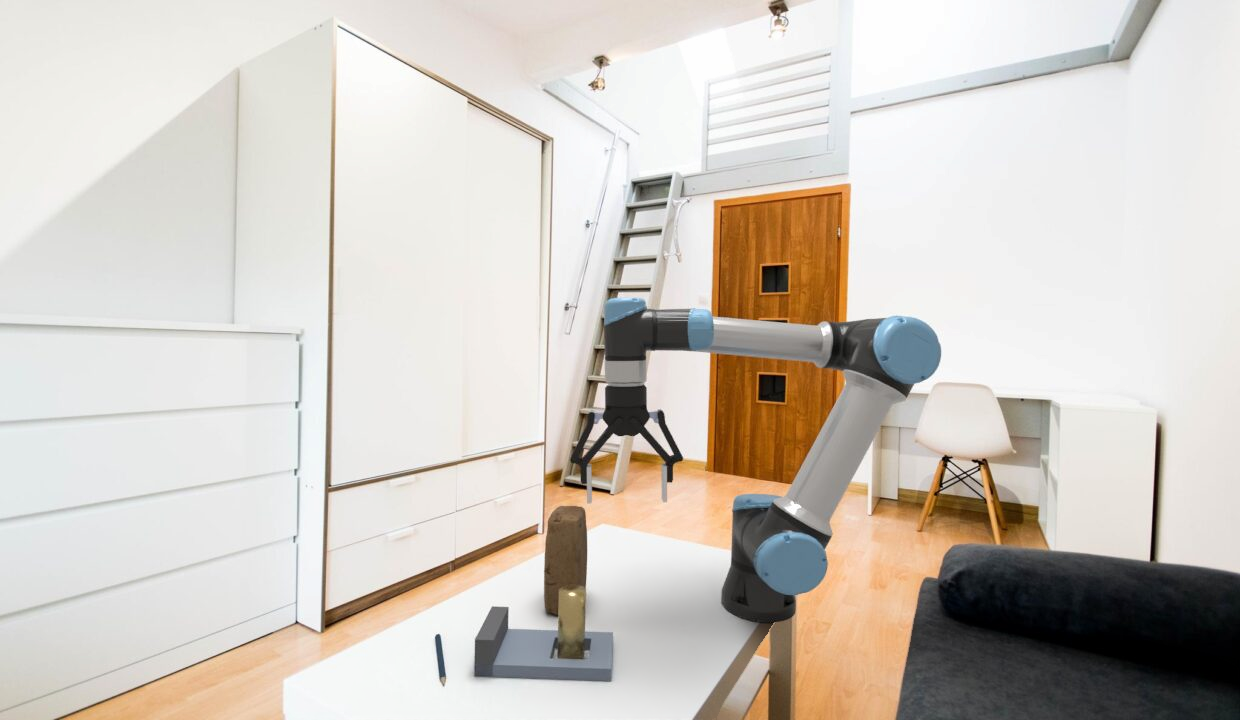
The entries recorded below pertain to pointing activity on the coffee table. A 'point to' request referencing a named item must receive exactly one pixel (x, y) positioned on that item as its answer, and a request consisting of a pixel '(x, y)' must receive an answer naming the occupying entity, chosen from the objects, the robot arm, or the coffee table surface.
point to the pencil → (440, 659)
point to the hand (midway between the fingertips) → (627, 500)
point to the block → (564, 553)
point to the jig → (536, 652)
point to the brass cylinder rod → (571, 622)
